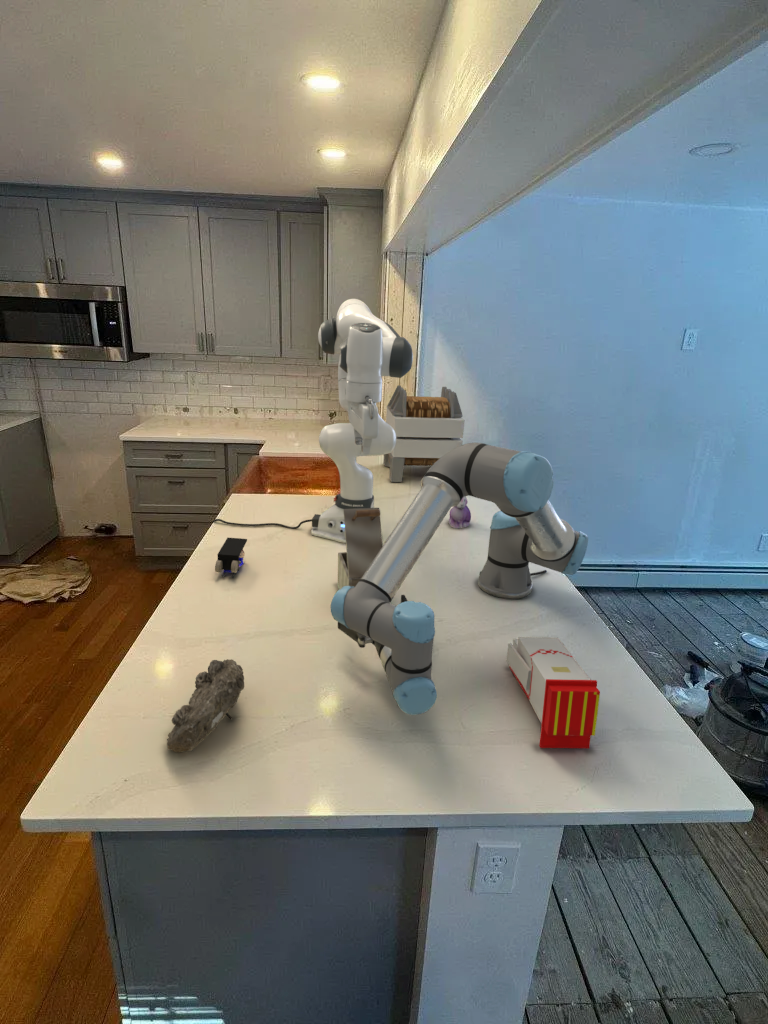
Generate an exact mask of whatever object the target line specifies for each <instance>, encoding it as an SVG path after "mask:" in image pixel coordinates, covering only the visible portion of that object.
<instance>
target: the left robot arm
mask: <svg viewBox="0 0 768 1024" xmlns="http://www.w3.org/2000/svg"><path fill="white" fill-rule="evenodd" d="M317 339H318V344H319V345H320V348H321V350H322V352H323V353H324V354H328V355H339V358H338V365H337V387H338V388H337V389H338V390H337V391H338V403H339V406H340V407H341V408H342V409H343V410H344V411H345V412H347V416H348V422H337V423H332V424H328V425H325V426H324V427H322V429H321V431H320V432H319V435H318V444H319V447H320V450H321V451H322V452H323V454H325V455H326V456H327V457H329V458H330V459H331V460H332V462H333V463H334V464H335V466H336V467H337V470H338V474H339V483H340V484H339V485H340V488H339V489H340V490H339V491H338V492H337V494H336V495H335V496H334V497H333V502H334V504H333V505H331V506H329V507H328V508H326V509H325V510H323V512H321V514H318V513H315V514H314V515H313V517H312V518H311V519H305V520H302V521H301V522H299V523H298V525H296V526H288V525H285V524H282V523H276V522H265V523H239V522H238V523H237V522H230V521H226V520H224V519H220V518H215V519H214V520H212V521H211V523H215V522H221V523H224V524H226V525H231V526H240V527H263V526H279V527H281V528H282V527H283V528H285V529H286V528H287V529H291V530H297V529H299V528H300V527H301V525H303V524H305V523H311V527H312V528H311V530H310V533H311V536H315V537H319V538H323V539H326V540H330V541H336V542H339V543H343V544H346V537H345V524H344V511H343V510H344V509H358V508H375V496H374V474H373V472H372V471H371V469H369V468H368V467H366V466H364V465H362V464H359V463H358V462H357V458H358V457H378V456H384V454H388V453H391V452H392V450H393V449H394V447H395V445H396V433H395V431H394V429H393V428H392V427H391V426H390V425H389V424H387V423H386V420H384V419H383V418H382V417H381V415H380V414H379V408H378V406H377V403H380V402H382V400H383V399H382V398H383V397H382V395H383V377H390V378H397V379H401V378H402V377H404V376H405V375H406V374H408V373H409V372H410V371H411V369H412V366H413V360H414V352H413V348H412V345H411V343H410V342H409V341H408V339H406V338H405V337H403V336H401V335H399V334H398V332H397V330H395V329H394V327H392V325H390V324H389V323H388V322H386V321H384V320H383V319H381V318H379V317H377V316H376V315H374V314H373V313H372V311H371V309H370V307H369V306H368V305H367V304H366V303H365V302H364V301H362V300H360V299H359V298H348V299H346V300H345V301H343V302H342V303H341V305H340V306H339V307H338V309H337V312H336V317H333V316H330V317H329V319H326V320H324V321H323V322H322V323H321V324H320V327H319V330H318V334H317Z"/></svg>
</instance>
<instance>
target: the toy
mask: <svg viewBox="0 0 768 1024" xmlns="http://www.w3.org/2000/svg"><path fill="white" fill-rule="evenodd" d="M505 659H506V660H505V661H506V663H507V664H508V666H509V667H508V669H510V671H511V673H512V674H513V676H514V678H515V680H516V681H517V683H518V685H519V686H520V688H521V689H522V691H523V693H524V694H525V696H526V698H527V700H529V703H530V705H531V707H532V708H533V711H534V712H535V715H536V716H537V718H538V720H539V722H540V725H541V726H540V736H539V744H538V746H539V748H540V749H590V746H591V736H592V737H595V735H596V731H597V730H596V729H597V722H598V721H597V720H598V714H599V713H598V712H599V703H600V697H601V691H600V690H599V688H598V680H596V679H591V678H590V677H589V675H588V674H587V673H586V672H585V670H584V669H583V668H582V667H581V665H580V664H579V663H578V661H577V660H576V659H575V657H574V656H573V655H572V653H570V650H569V649H568V648H567V647H566V645H564V643H563V642H562V641H561V639H560V638H559V637H548V636H547V637H546V636H545V637H543V636H518V638H517V637H515V638H512V643H511V642H508V646H507V653H506V658H505Z"/></svg>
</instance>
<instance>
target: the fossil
mask: <svg viewBox="0 0 768 1024" xmlns="http://www.w3.org/2000/svg"><path fill="white" fill-rule="evenodd" d="M243 670H244V669H243V667H242V665H240V664H237V662H236V661H235V660H234V659H232V658H231V659H227V658H226V659H224V660H223V661H222V660H217V659H212V660H211V661H210V663H209V665H208V666H207V671H201V672H199V673H198V674H197V675H196V676H195V680H194V684H195V685H194V687H195V689H194V690H193V693H192V694H191V697H190V698H189V700H188V704H184V705H182V706H181V707H180V709H177V710H176V711H175V713H174V715H173V716H172V718H171V723H172V724H173V727H172V730H171V731H170V732H168V734H167V738H166V741H167V742H166V745H167V749H168V750H169V751H173V752H174V753H176V754H178V753H182V752H188V751H189V752H192V751H193V750H195V748H196V747H197V746H199V744H200V743H201V742H203V741H204V740H205V739H206V738H207V737H208V736H209V735H210V734H211V733H212V732H214V730H215V729H217V727H218V726H219V724H220V722H221V721H222V720H223V719H224V718H225V716H226V717H227V719H229V720H233V717H232V715H230V714H229V710H230V709H231V708H234V706H235V704H236V703H237V702H238V699H239V697H240V695H241V693H242V691H243V690H245V689H244V688H245V675H244V671H243Z"/></svg>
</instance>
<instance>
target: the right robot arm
mask: <svg viewBox="0 0 768 1024" xmlns="http://www.w3.org/2000/svg"><path fill="white" fill-rule="evenodd" d="M553 477H554V470H553V467H552V464H551V462H550V461H549V460H548V459H547V458H546V457H544V456H542V455H540V454H536V453H534V452H533V451H532V452H531V451H522V450H521V451H520V450H517V449H516V450H515V449H511V448H506V447H501V446H496V445H492V444H487V443H483V442H475V441H474V442H467V443H464V444H462V445H461V446H459V447H457V448H454V449H452V450H451V451H449V452H448V453H446V454H445V455H444V456H442V457H441V458H440V459H439V460H438V461H436V462H435V463H434V464H433V465H430V466H429V468H428V469H427V471H426V473H424V476H423V477H422V478H421V480H420V486H421V487H420V489H419V491H418V493H417V494H416V496H415V497H414V498H413V500H412V501H411V503H410V505H409V506H408V507H407V509H406V511H405V512H404V514H403V515H402V516H401V518H400V520H399V521H398V523H396V525H395V527H394V528H393V530H392V532H391V533H390V534H389V536H388V537H387V539H386V541H385V542H384V543H383V544H382V545H383V546H382V548H381V549H380V551H379V552H378V554H377V555H376V557H375V558H374V560H373V561H372V563H371V564H370V566H369V567H368V569H367V570H366V572H365V573H364V575H363V576H362V578H361V579H360V580H359V582H358V583H357V585H356V586H355V587H354V586H353V587H351V586H344V587H342V588H341V589H340V590H339V589H338V590H336V592H335V593H334V595H333V597H332V599H331V601H330V615H331V616H332V618H333V619H334V620H335V621H336V622H337V629H338V630H340V631H341V632H342V633H344V634H345V635H346V636H348V637H349V638H350V639H352V640H353V641H355V642H356V644H357V645H358V647H359V648H361V649H362V648H365V647H366V645H367V644H372V645H373V646H374V647H375V650H376V652H377V655H378V657H379V661H380V663H381V665H382V669H383V671H384V673H385V676H386V678H387V681H388V684H389V686H390V689H391V692H392V697H393V699H394V700H395V702H396V703H397V706H398V707H399V709H400V710H401V712H403V713H404V714H407V715H411V716H417V715H422V714H425V713H427V712H428V711H430V710H431V709H432V708H433V706H434V705H435V703H436V701H437V698H438V692H437V689H436V684H435V682H434V681H433V680H432V670H433V651H434V639H435V636H436V627H435V612H434V610H433V608H432V607H431V606H430V605H428V604H427V603H424V602H422V601H414V600H408V599H407V597H406V595H405V594H401V595H400V603H398V604H397V605H394V604H392V603H391V602H392V600H393V599H394V597H395V595H396V594H397V593H398V591H399V589H400V588H401V586H402V585H403V583H404V582H405V580H406V578H407V577H408V575H409V573H410V572H411V570H412V569H413V568H414V566H415V564H416V563H417V561H418V560H419V558H420V556H421V555H422V553H423V552H424V550H425V549H426V547H427V545H428V544H429V542H430V541H431V539H432V538H433V537H434V534H435V533H436V532H437V530H438V528H439V527H440V526H441V524H442V522H443V521H444V520H445V517H446V516H447V515H448V513H449V512H450V510H451V509H452V508H453V507H454V506H457V505H458V504H459V503H460V501H461V500H462V498H463V497H465V496H466V497H469V496H470V497H472V498H477V499H480V500H483V501H487V502H491V503H494V504H495V505H496V507H497V508H498V509H499V510H498V511H497V512H495V513H494V514H493V515H492V518H491V524H490V527H489V528H490V532H489V539H488V550H487V559H486V561H485V564H484V565H483V568H482V569H481V570H480V571H479V575H478V579H477V580H478V581H477V586H478V587H479V588H480V590H482V591H483V592H484V593H486V594H488V595H491V596H493V597H496V598H500V599H507V600H517V599H523V598H526V597H528V596H529V595H530V594H531V593H532V591H533V580H532V576H539V575H543V574H545V573H547V570H546V569H549V570H552V571H555V572H558V573H561V574H563V575H569V576H574V575H575V574H576V573H577V572H578V571H579V569H580V567H581V566H582V563H583V562H584V558H585V556H586V552H587V549H588V546H589V536H588V534H586V533H584V532H582V531H581V530H579V531H577V530H575V529H574V528H573V527H572V525H571V524H570V523H569V522H568V521H566V520H565V519H563V518H560V517H559V515H558V513H557V512H556V510H555V508H554V506H553V504H552V503H551V501H550V498H551V496H552V492H553V490H554V489H553V488H554V480H555V479H554V478H553ZM530 563H531V564H534V565H537V566H540V567H543V568H546V569H544V570H541V571H537V572H536V571H535V572H531V571H530V567H529V564H530Z"/></svg>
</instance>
